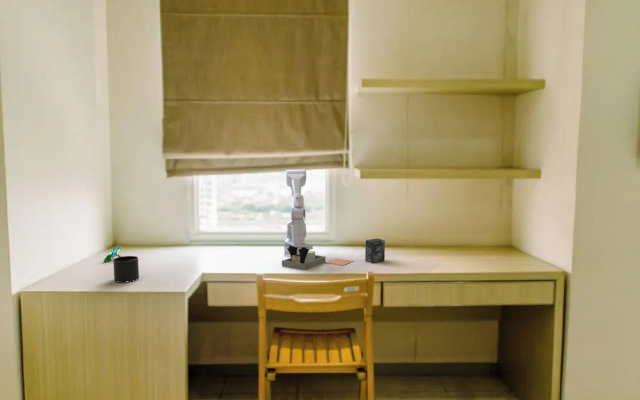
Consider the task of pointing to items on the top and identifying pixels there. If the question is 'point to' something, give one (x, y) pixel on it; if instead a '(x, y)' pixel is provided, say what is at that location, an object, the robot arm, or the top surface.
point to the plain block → (310, 256)
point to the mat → (339, 262)
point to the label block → (296, 258)
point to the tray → (304, 266)
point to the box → (375, 250)
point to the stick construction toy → (112, 254)
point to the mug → (126, 268)
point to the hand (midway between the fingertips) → (298, 263)
